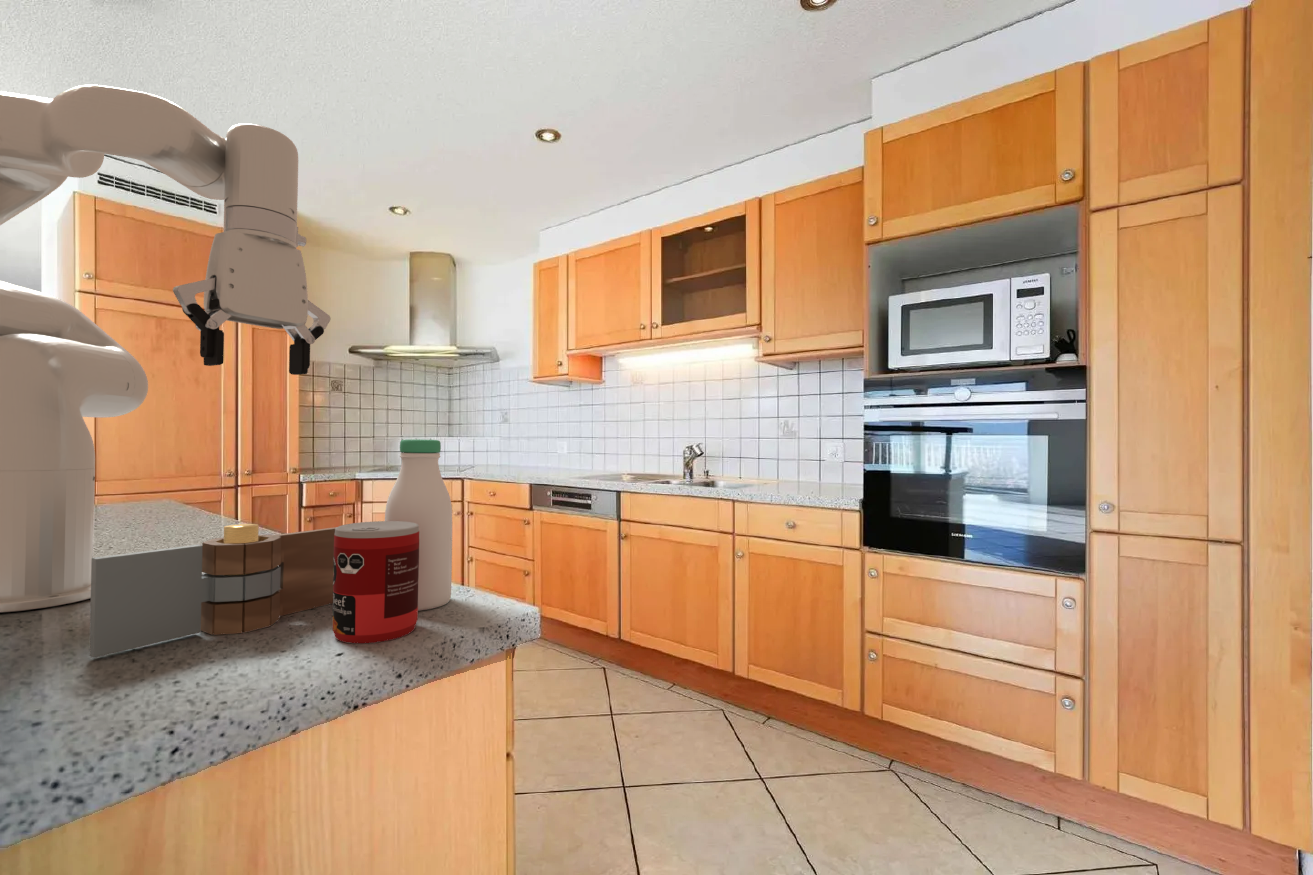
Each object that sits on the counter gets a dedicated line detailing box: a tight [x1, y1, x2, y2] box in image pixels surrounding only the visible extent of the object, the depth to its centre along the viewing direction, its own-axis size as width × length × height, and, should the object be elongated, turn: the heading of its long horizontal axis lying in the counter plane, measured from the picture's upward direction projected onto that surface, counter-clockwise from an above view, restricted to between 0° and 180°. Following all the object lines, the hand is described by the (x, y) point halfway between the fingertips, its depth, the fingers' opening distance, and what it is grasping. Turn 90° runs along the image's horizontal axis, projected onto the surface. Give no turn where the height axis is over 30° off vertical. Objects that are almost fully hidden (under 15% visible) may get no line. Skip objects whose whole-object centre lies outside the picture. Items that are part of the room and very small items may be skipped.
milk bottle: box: [384, 438, 453, 612], centre depth 70 cm, size 8×8×20 cm
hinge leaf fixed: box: [201, 526, 338, 636], centre depth 66 cm, size 6×16×9 cm, turn 151°
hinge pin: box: [223, 523, 260, 602], centre depth 61 cm, size 3×3×10 cm
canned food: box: [332, 520, 419, 644], centre depth 60 cm, size 8×8×11 cm
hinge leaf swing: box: [88, 544, 281, 659], centre depth 58 cm, size 6×15×9 cm, turn 151°
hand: (258, 369), depth 72 cm, fingers open, 9 cm apart
